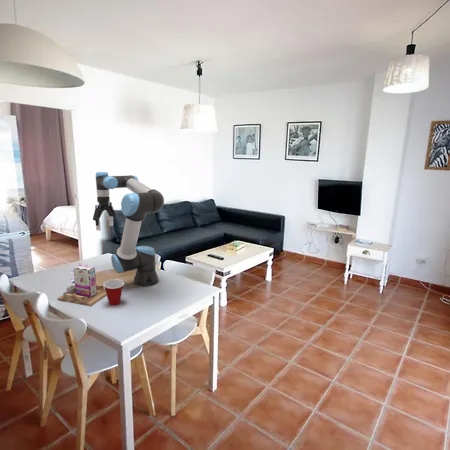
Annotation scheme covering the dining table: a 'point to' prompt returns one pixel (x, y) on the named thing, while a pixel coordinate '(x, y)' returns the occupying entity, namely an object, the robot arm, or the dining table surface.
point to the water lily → (73, 273)
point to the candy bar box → (85, 280)
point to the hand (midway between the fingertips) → (105, 228)
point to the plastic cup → (114, 290)
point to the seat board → (79, 299)
